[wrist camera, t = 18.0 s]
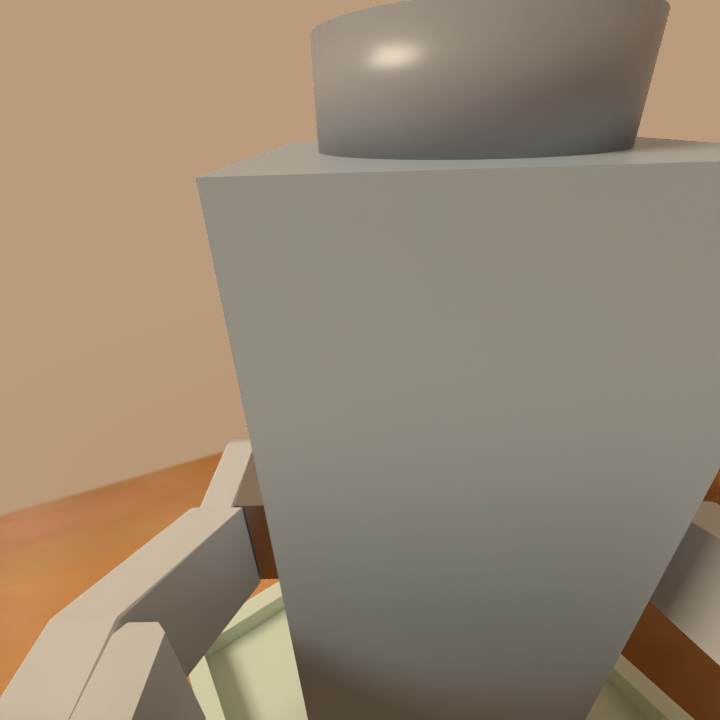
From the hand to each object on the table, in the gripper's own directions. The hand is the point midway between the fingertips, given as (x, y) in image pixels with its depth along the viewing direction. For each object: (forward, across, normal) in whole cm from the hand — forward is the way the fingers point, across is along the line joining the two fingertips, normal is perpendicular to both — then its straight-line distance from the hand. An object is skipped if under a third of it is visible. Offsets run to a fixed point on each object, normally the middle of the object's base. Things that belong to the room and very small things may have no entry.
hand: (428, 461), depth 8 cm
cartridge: (-1, 0, +6) cm, 7 cm away
